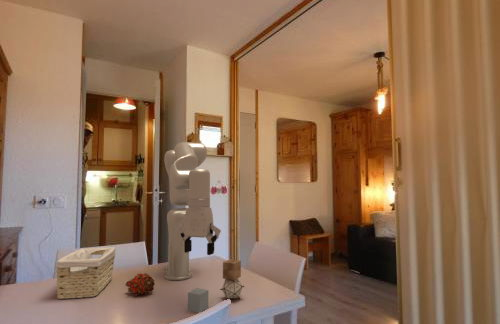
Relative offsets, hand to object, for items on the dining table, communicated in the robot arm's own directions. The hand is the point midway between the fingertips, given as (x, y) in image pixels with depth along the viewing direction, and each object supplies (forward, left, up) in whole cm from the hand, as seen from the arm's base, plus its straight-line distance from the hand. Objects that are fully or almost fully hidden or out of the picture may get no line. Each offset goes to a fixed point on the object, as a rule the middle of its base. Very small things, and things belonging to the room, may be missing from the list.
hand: (199, 253), depth 102 cm
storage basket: (-54, -4, -19) cm, 57 cm away
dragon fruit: (-29, +1, -19) cm, 35 cm away
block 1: (0, 0, -19) cm, 19 cm away
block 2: (+6, +13, -11) cm, 18 cm away
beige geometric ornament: (+6, +13, -19) cm, 24 cm away
